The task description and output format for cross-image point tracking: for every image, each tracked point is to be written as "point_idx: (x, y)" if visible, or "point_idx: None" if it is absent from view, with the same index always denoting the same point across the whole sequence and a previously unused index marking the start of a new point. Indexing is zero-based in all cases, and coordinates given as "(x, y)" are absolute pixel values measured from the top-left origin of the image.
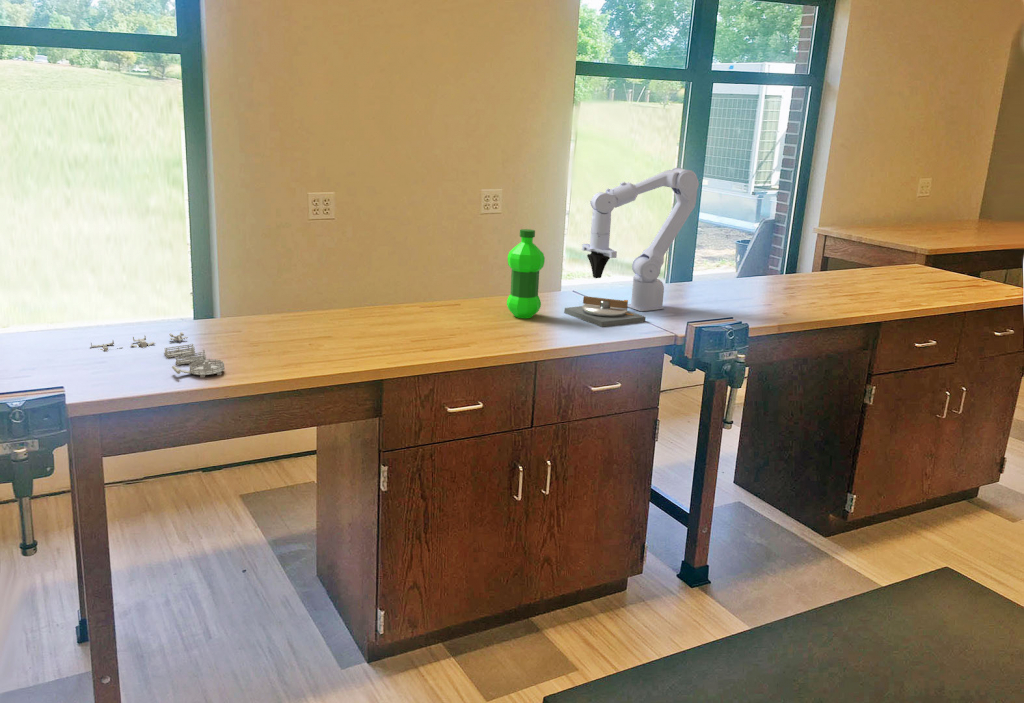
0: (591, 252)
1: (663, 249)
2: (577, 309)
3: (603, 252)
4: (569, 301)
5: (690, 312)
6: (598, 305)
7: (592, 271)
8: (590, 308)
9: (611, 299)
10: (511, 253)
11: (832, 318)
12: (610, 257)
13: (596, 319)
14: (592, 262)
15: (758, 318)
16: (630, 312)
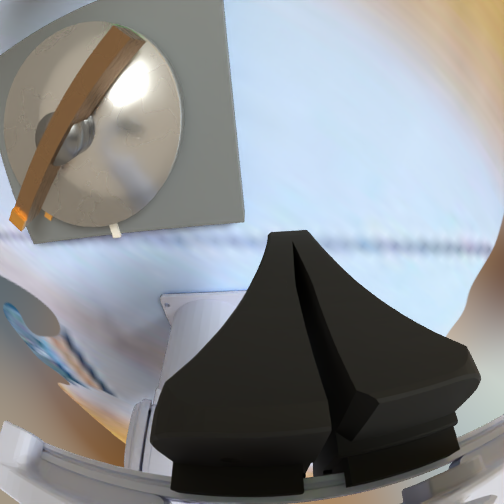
0: (452, 437)
1: None
2: (165, 13)
3: (63, 500)
4: (418, 137)
5: (150, 375)
6: (109, 112)
7: (320, 252)
8: (65, 48)
9: (40, 168)
10: None
11: (121, 440)
12: (9, 427)
13: (6, 53)
14: (329, 319)
15: (110, 409)
16: (80, 228)
